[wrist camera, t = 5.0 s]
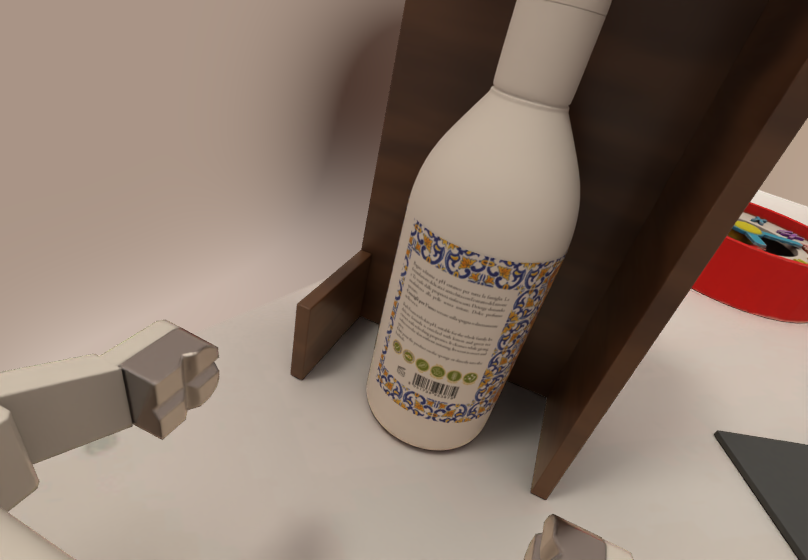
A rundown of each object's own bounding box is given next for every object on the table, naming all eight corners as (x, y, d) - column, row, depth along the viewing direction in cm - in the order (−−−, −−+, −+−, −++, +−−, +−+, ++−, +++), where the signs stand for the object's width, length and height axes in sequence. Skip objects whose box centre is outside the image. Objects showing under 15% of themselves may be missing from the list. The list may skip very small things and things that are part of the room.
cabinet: (546, 500, 21) (1208, -467, 7) (289, 374, 24) (366, -465, 10) (560, 395, 28) (918, -222, 13) (355, 306, 31) (461, -268, 16)
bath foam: (498, 459, 23) (736, 16, 12) (365, 452, 21) (495, -52, 11) (471, 362, 28) (614, 3, 18) (364, 352, 27) (448, -41, 16)
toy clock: (643, 170, 58) (806, 217, 55) (622, 210, 61) (775, 257, 58) (676, 226, 41) (913, 299, 38) (644, 278, 44) (861, 349, 41)
